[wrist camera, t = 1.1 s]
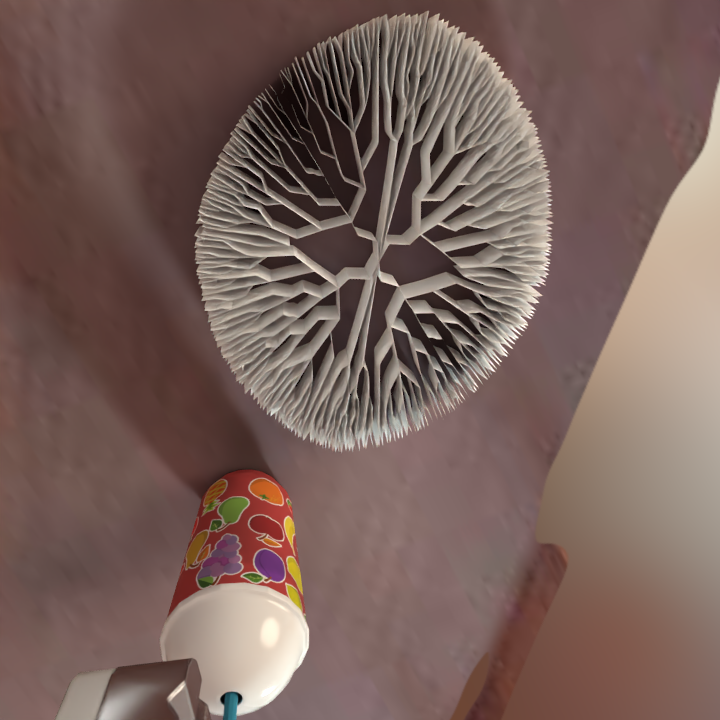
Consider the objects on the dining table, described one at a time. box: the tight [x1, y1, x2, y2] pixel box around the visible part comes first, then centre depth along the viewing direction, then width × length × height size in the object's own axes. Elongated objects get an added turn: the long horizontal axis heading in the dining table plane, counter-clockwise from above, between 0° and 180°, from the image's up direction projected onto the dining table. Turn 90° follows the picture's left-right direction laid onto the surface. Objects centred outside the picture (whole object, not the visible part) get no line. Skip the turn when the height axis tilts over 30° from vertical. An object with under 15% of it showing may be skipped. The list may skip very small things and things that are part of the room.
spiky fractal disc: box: [194, 11, 553, 453], centre depth 40 cm, size 22×28×3 cm
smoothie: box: [159, 469, 309, 720], centre depth 39 cm, size 8×8×20 cm
